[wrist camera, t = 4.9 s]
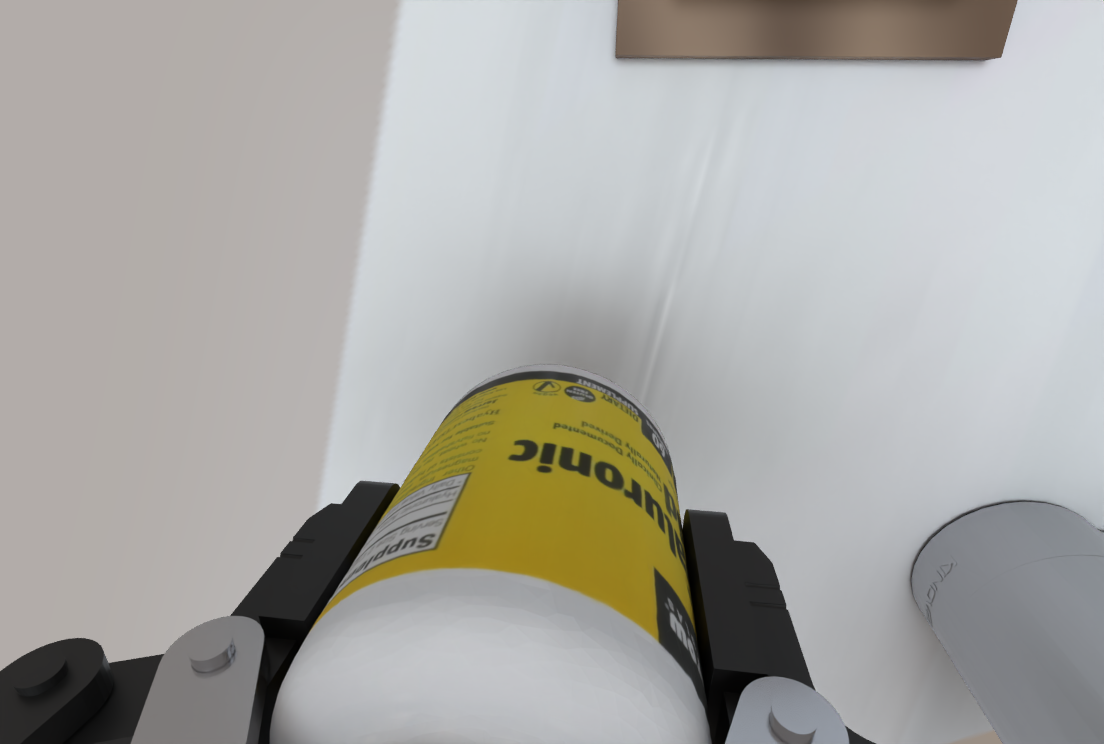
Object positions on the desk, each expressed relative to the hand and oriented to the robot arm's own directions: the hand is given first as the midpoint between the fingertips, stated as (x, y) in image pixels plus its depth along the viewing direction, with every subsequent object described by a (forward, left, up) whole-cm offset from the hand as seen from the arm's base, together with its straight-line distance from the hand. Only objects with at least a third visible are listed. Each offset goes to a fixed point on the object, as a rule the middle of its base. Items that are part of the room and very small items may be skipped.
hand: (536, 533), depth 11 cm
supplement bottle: (0, 0, -3) cm, 3 cm away
